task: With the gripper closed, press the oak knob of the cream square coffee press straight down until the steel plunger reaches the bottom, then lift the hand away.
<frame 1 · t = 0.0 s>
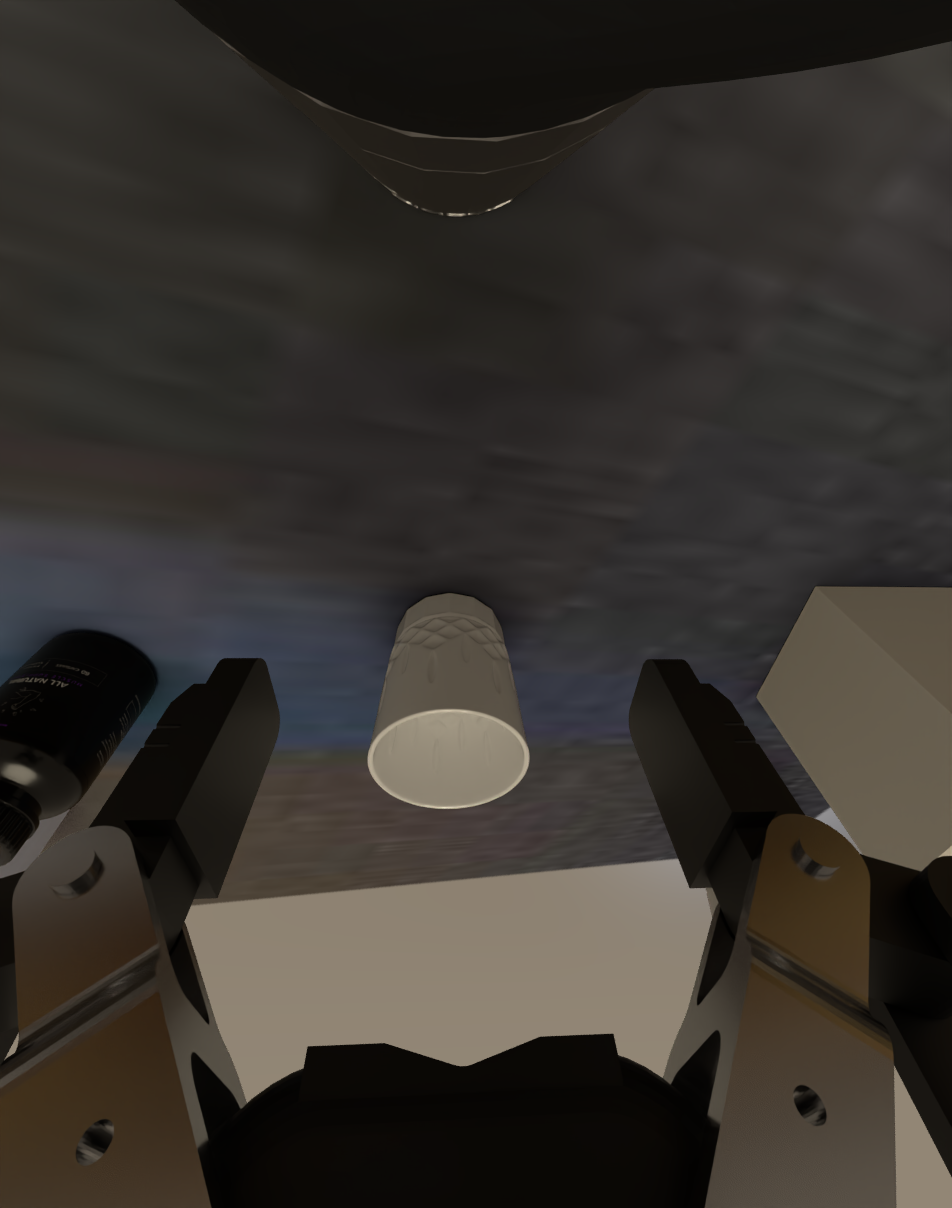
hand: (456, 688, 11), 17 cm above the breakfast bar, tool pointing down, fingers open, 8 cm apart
press jug: (852, 646, 34), on the breakfast bar
white cup: (449, 631, 32), on the breakfast bar
soap bottle: (10, 790, 40), on the breakfast bar
supplement bottle: (105, 665, 33), on the breakfast bar
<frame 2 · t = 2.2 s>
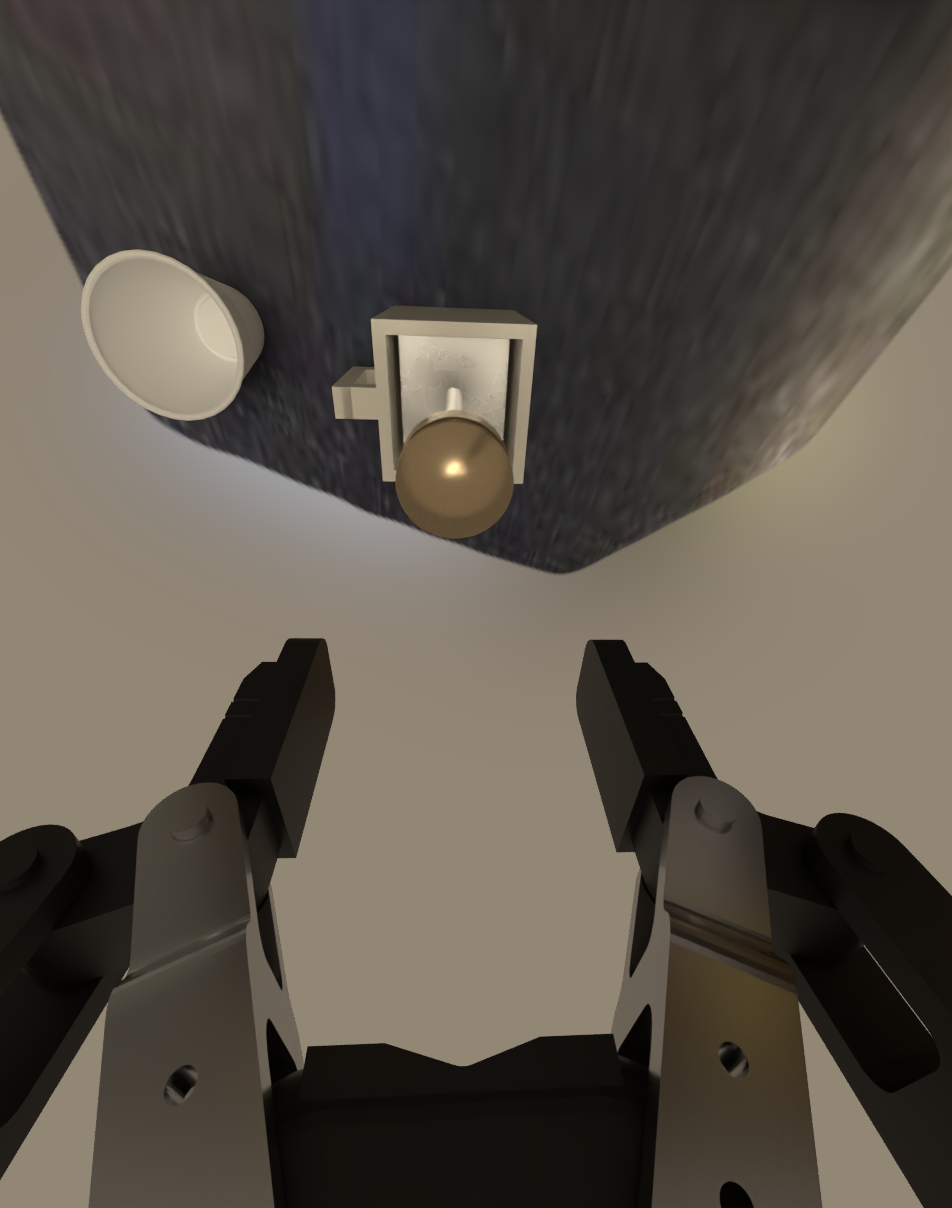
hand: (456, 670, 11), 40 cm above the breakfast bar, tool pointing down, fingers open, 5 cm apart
plunger: (454, 427, 28), point 19 cm above the breakfast bar, slide at 8.0 cm
press jug: (453, 372, 44), on the breakfast bar
cup: (228, 326, 41), on the breakfast bar
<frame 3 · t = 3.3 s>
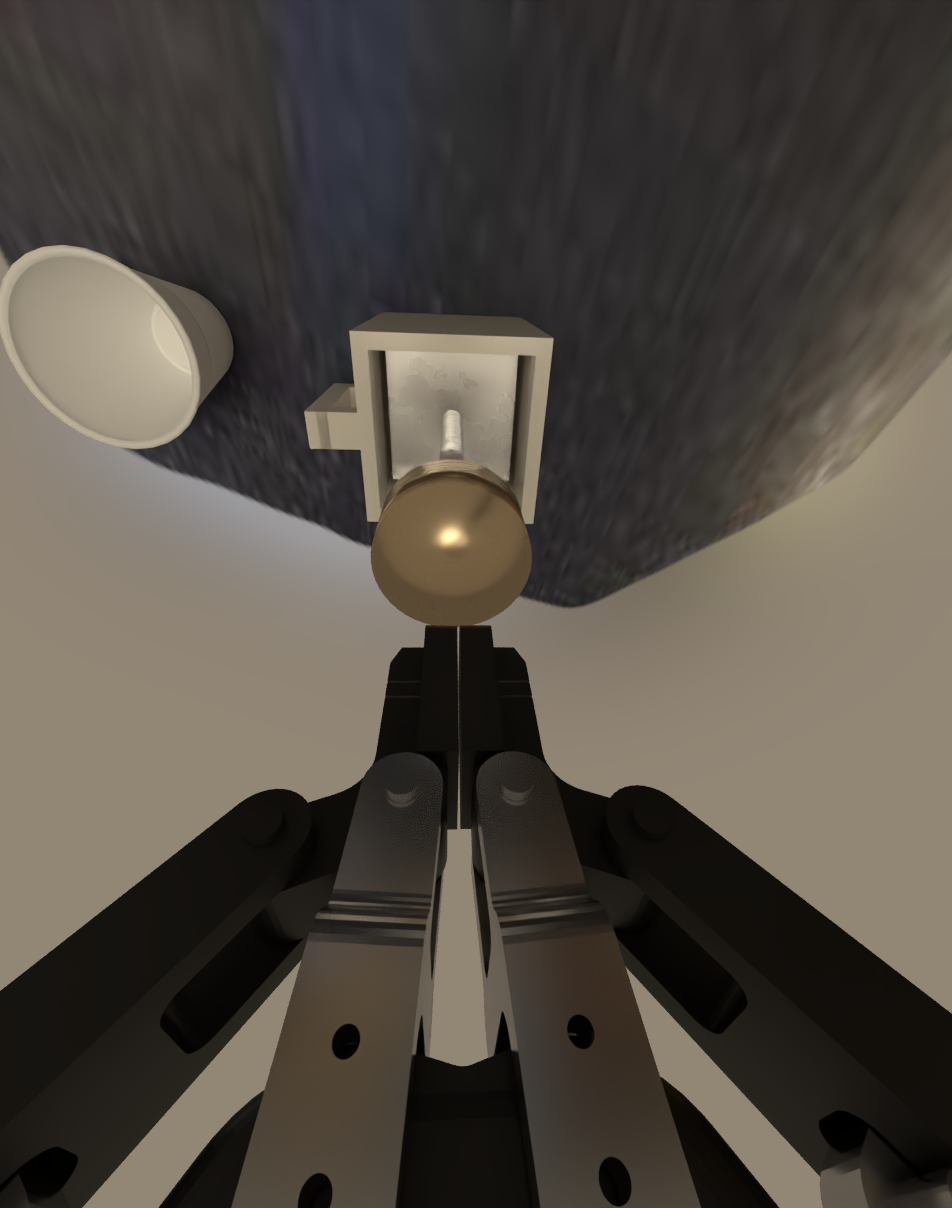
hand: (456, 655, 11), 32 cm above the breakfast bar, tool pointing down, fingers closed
plunger: (451, 465, 23), point 19 cm above the breakfast bar, slide at 8.0 cm
press jug: (451, 388, 38), on the breakfast bar
cup: (192, 336, 36), on the breakfast bar
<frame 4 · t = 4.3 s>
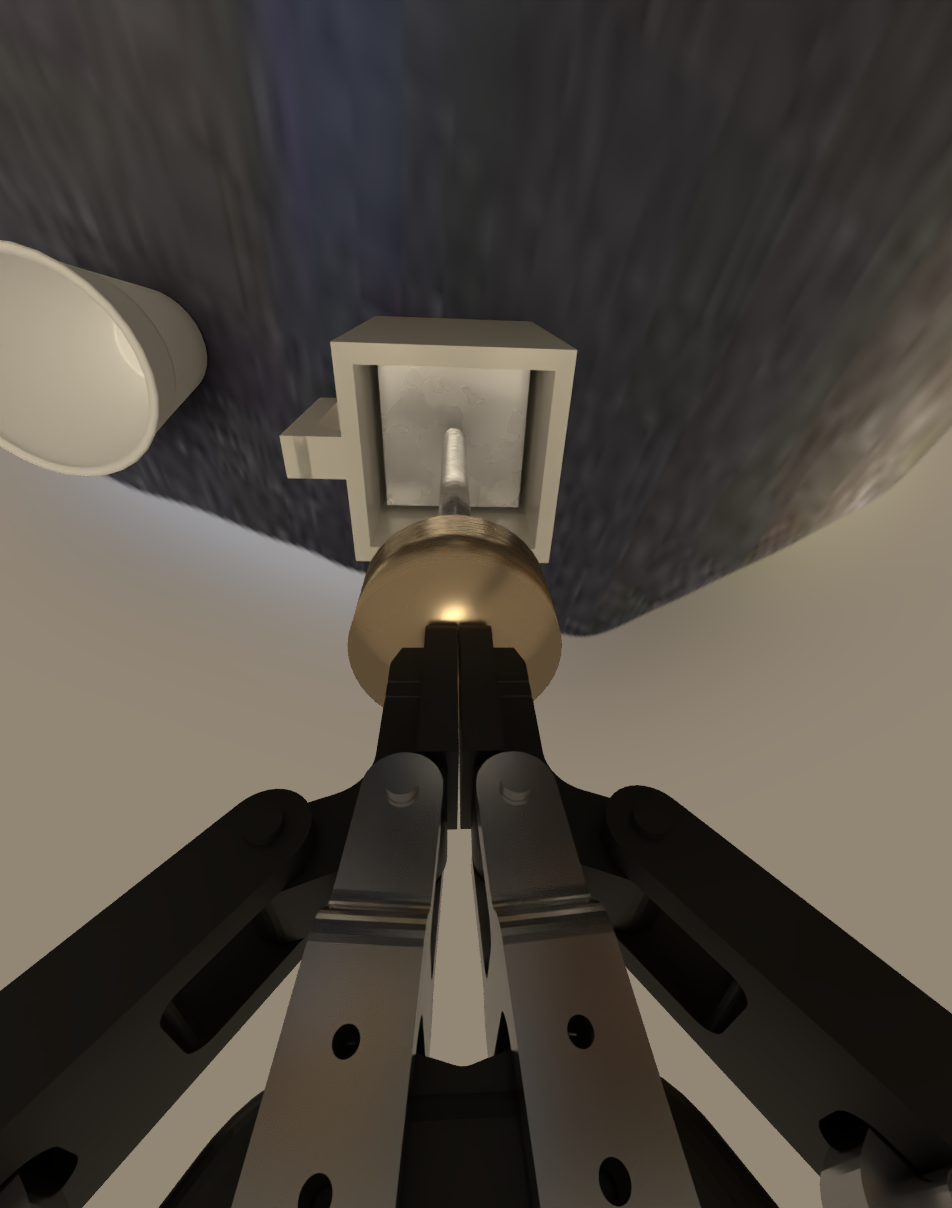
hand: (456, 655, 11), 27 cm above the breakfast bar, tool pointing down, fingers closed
plunger: (454, 501, 19), point 18 cm above the breakfast bar, slide at 7.5 cm, touching gripper
press jug: (453, 401, 34), on the breakfast bar
cup: (160, 343, 32), on the breakfast bar
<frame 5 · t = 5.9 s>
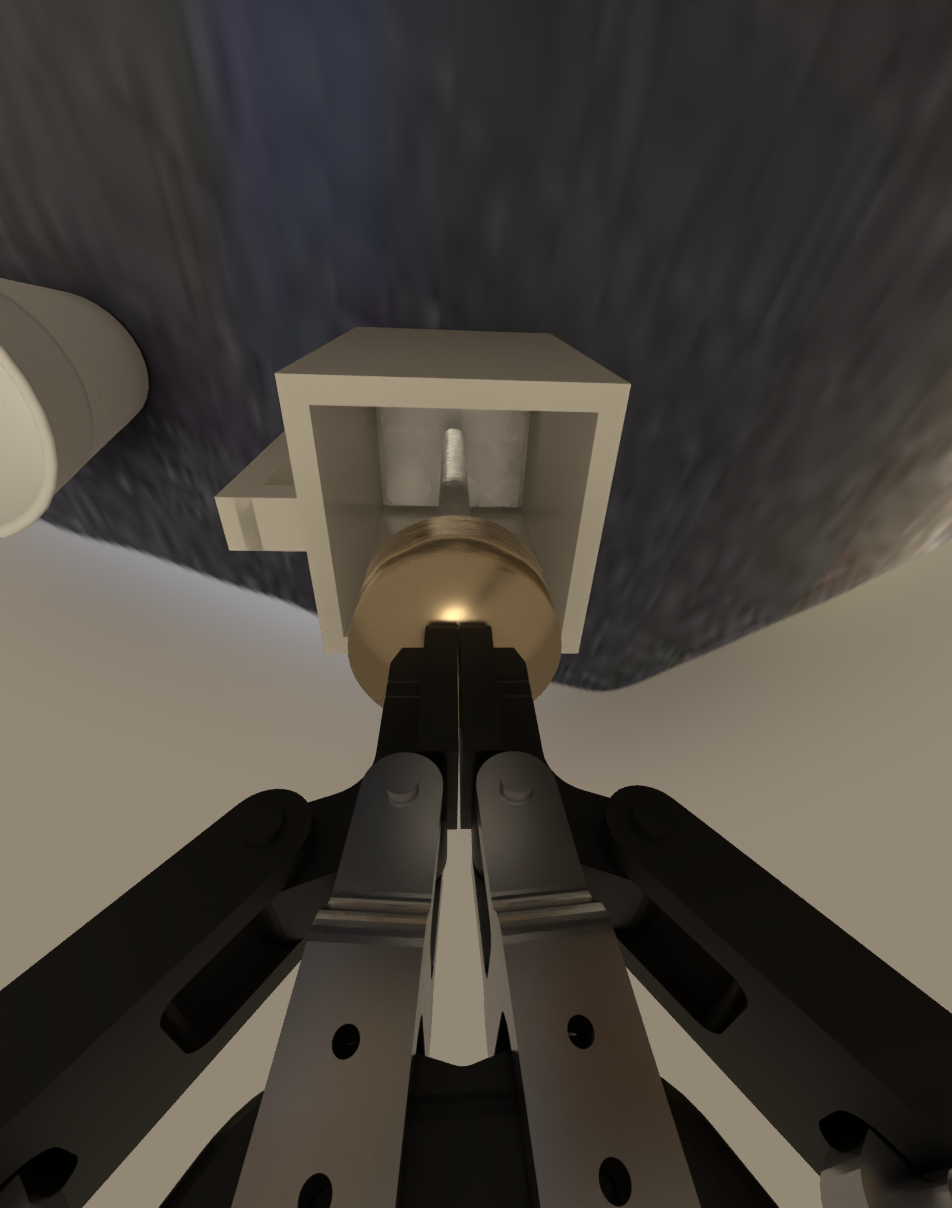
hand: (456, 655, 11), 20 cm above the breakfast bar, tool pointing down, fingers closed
plunger: (454, 501, 19), point 11 cm above the breakfast bar, slide at 0.2 cm, touching gripper
press jug: (453, 429, 28), on the breakfast bar
cup: (90, 360, 26), on the breakfast bar
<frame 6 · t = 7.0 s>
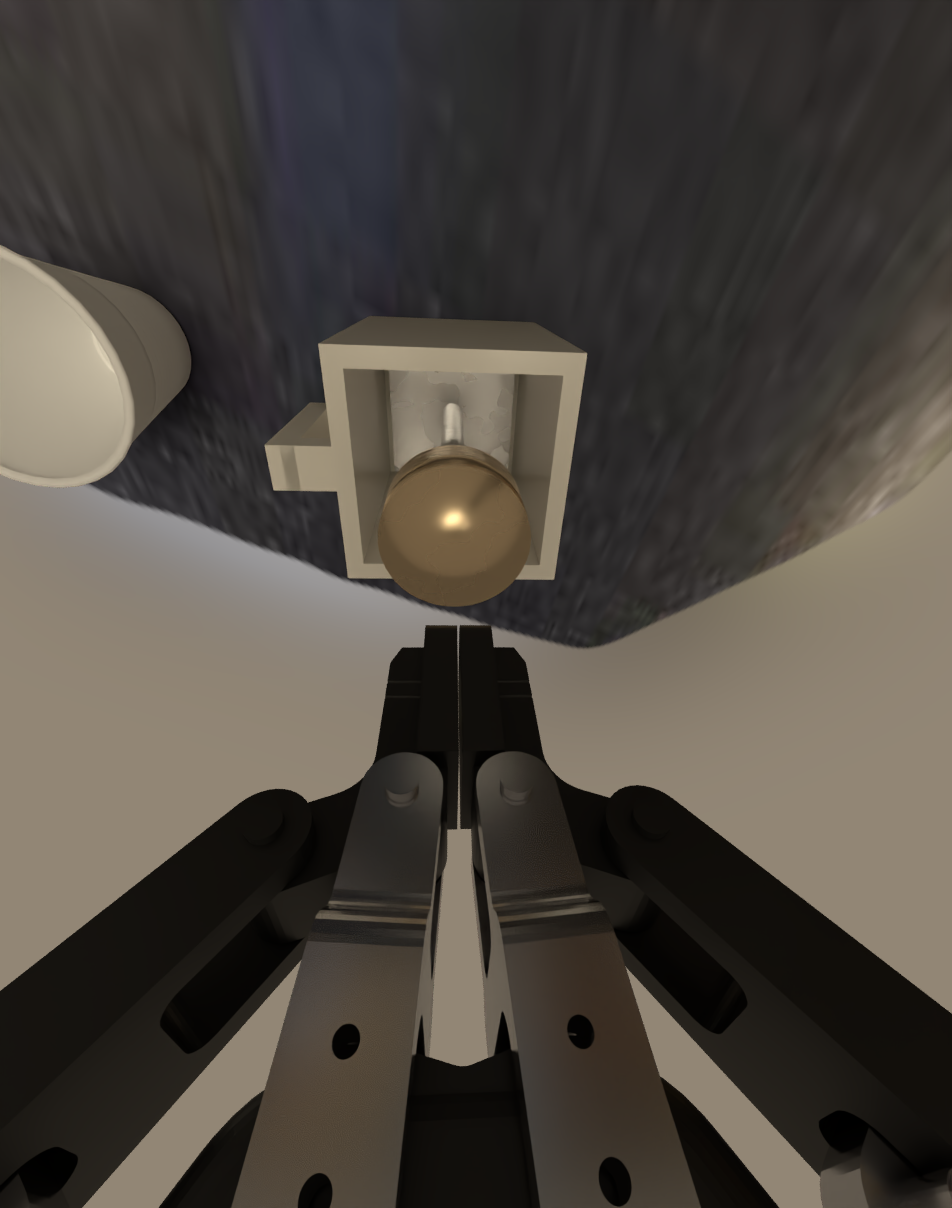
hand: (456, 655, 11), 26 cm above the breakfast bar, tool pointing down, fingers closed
plunger: (452, 455, 24), point 11 cm above the breakfast bar, slide at 0.1 cm
press jug: (451, 405, 33), on the breakfast bar
cup: (142, 344, 30), on the breakfast bar
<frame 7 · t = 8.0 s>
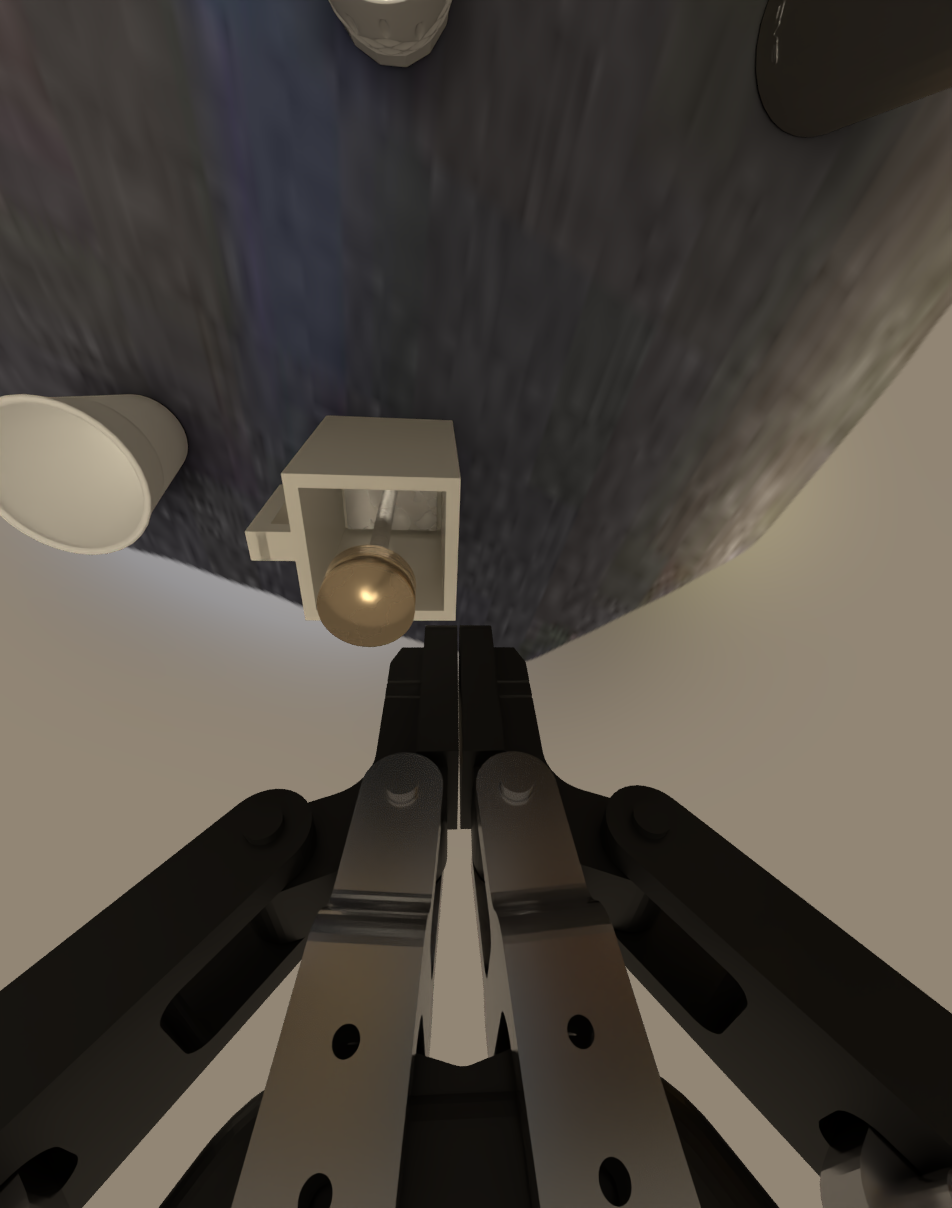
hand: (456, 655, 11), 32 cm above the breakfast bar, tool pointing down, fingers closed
plunger: (381, 531, 33), point 11 cm above the breakfast bar, slide at 0.1 cm
press jug: (392, 478, 42), on the breakfast bar
cup: (149, 434, 39), on the breakfast bar
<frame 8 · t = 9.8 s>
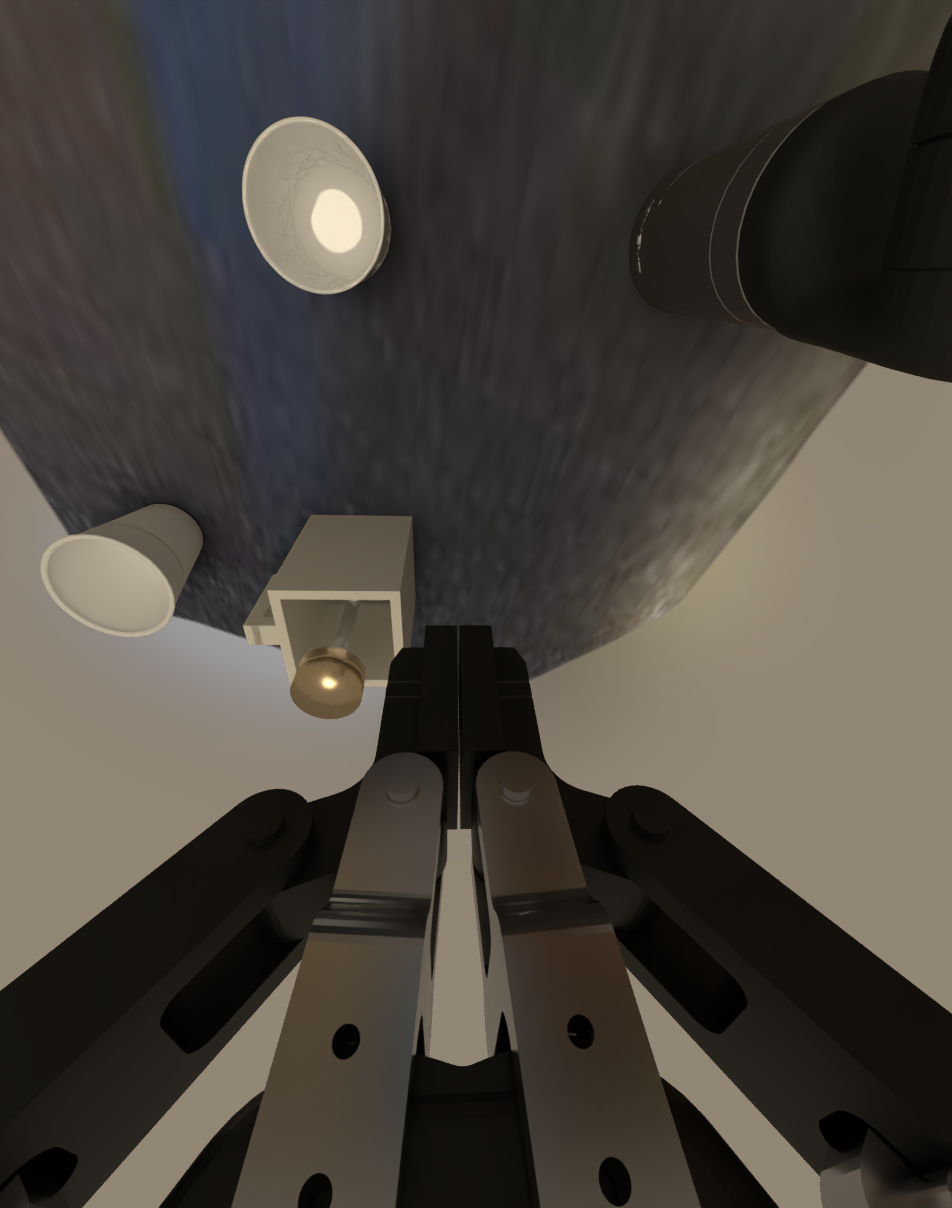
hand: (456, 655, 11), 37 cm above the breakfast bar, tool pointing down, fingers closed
plunger: (348, 618, 43), point 11 cm above the breakfast bar, slide at 0.1 cm
press jug: (366, 559, 52), on the breakfast bar
white cup: (346, 226, 36), on the breakfast bar
cup: (173, 530, 49), on the breakfast bar
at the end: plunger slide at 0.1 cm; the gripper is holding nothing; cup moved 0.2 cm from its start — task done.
